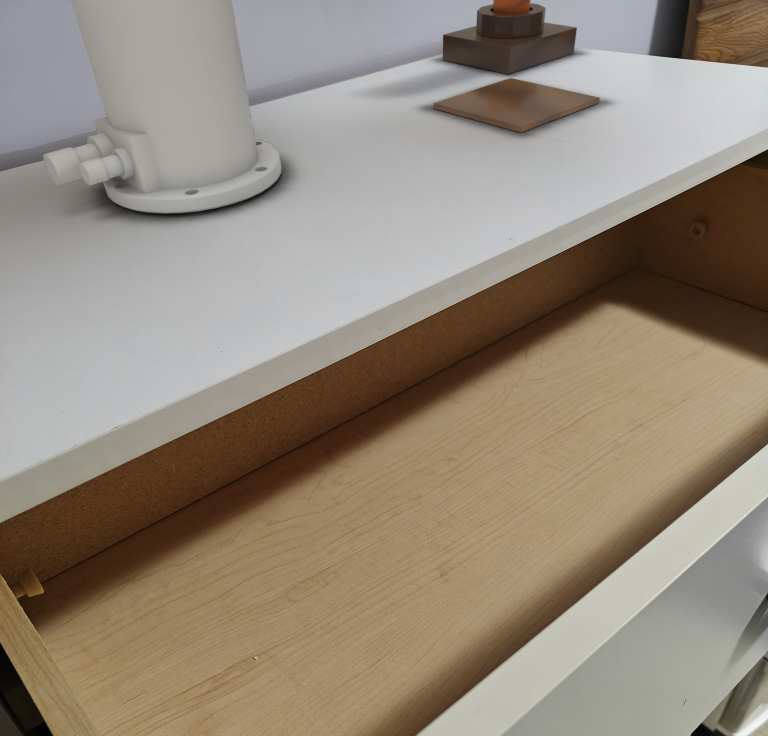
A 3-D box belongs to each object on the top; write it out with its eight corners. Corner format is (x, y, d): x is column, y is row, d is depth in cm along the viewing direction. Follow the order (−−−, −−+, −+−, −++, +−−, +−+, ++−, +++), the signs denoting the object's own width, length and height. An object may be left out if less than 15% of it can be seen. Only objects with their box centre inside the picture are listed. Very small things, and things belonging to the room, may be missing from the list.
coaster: (521, 132, 53) (521, 127, 53) (432, 108, 59) (432, 103, 59) (599, 102, 58) (600, 97, 57) (510, 82, 63) (510, 77, 63)
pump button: (512, 19, 65) (514, -4, 64) (485, 15, 67) (486, -7, 66) (536, 12, 67) (539, -10, 66) (509, 8, 69) (510, -13, 68)
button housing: (508, 74, 65) (512, 24, 62) (442, 60, 70) (442, 12, 67) (574, 53, 69) (580, 5, 67) (507, 41, 74) (510, -5, 71)
